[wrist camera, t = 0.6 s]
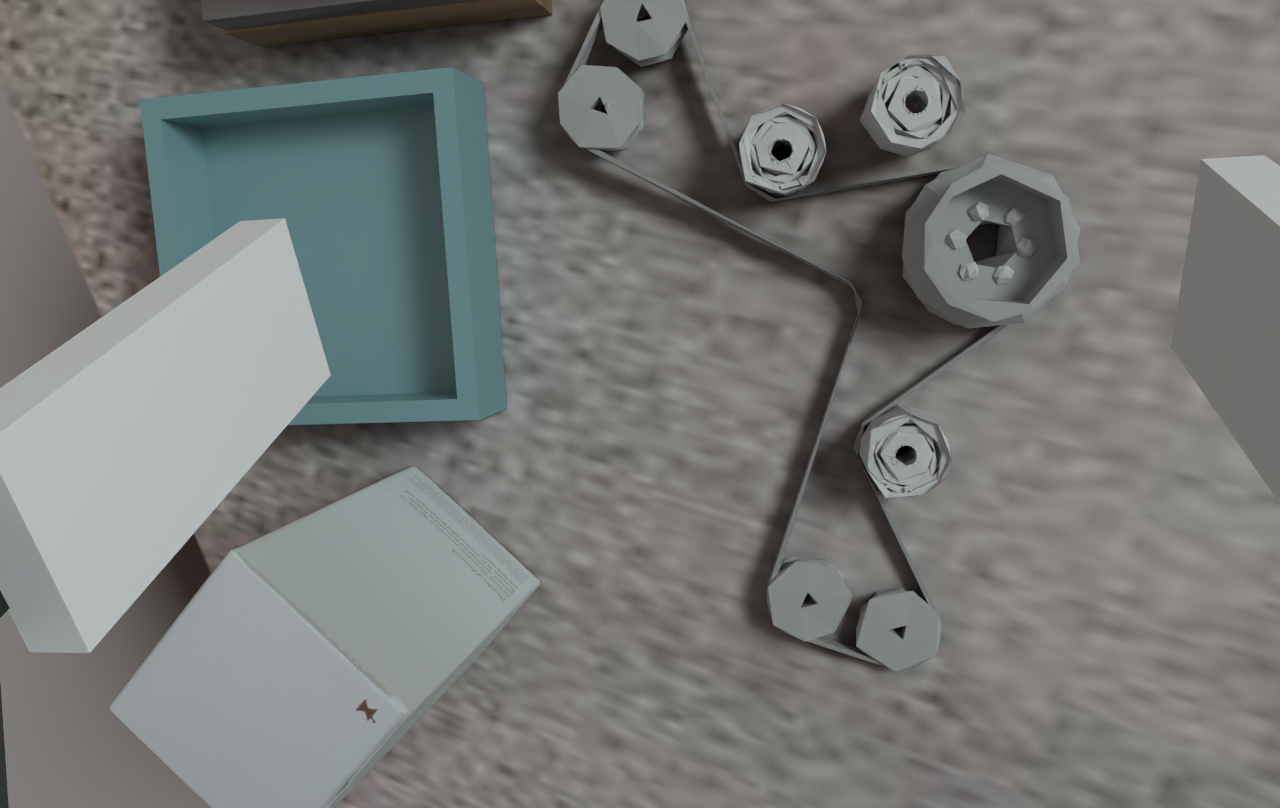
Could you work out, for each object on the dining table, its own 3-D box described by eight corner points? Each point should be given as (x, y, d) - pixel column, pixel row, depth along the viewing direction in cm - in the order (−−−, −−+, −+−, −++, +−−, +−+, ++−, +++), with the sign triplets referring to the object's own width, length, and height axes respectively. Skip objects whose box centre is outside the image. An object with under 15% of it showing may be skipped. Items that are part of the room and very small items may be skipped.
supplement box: (414, 458, 41) (231, 540, 29) (546, 582, 41) (417, 719, 29) (311, 581, 43) (97, 708, 31) (436, 702, 43) (270, 878, 30)
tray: (506, 408, 40) (479, 420, 37) (224, 416, 43) (177, 428, 40) (483, 82, 39) (452, 67, 36) (191, 111, 41) (139, 99, 38)
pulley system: (910, -151, 36) (529, 36, 38) (931, -212, 31) (496, 6, 34) (1181, 551, 38) (804, 682, 40) (1238, 593, 33) (808, 737, 36)
